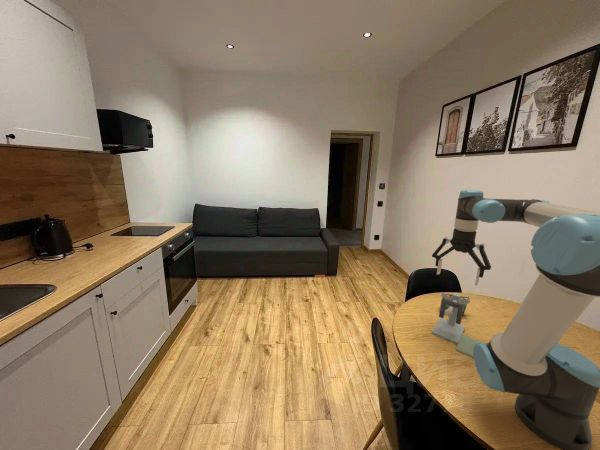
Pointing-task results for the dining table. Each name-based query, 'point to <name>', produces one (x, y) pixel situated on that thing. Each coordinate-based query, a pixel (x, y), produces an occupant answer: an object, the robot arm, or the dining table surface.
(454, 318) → the stand
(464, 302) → the food container
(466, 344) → the mat
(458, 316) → the link
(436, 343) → the dining table surface
